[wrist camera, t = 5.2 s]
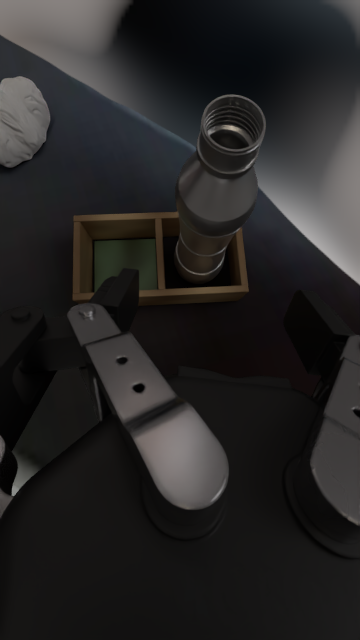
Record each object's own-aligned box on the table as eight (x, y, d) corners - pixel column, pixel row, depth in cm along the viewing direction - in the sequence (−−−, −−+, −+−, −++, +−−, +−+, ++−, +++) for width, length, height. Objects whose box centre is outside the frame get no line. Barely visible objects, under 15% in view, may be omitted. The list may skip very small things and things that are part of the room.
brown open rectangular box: (86, 308, 31) (72, 300, 27) (87, 234, 33) (73, 215, 28) (238, 300, 32) (248, 291, 27) (230, 229, 34) (239, 209, 29)
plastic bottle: (220, 245, 33) (292, 77, 13) (218, 291, 32) (292, 182, 12) (175, 241, 33) (180, 65, 13) (171, 287, 32) (169, 170, 12)
